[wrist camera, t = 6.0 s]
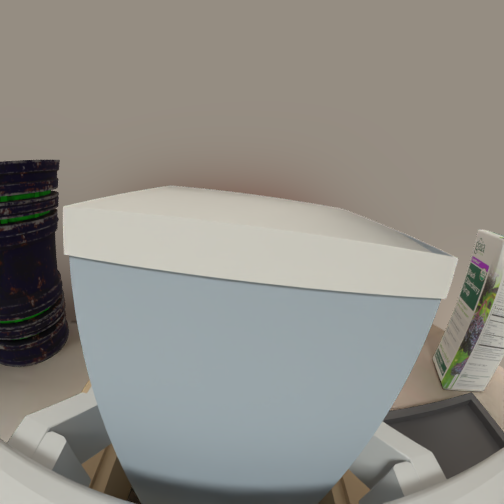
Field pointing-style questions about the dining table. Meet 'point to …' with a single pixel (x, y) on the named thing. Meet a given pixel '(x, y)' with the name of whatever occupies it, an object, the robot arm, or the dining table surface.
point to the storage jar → (29, 264)
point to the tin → (244, 337)
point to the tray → (451, 431)
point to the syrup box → (476, 321)
